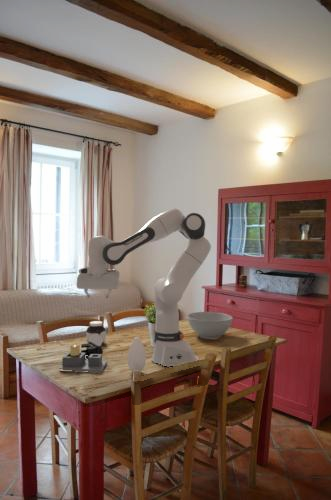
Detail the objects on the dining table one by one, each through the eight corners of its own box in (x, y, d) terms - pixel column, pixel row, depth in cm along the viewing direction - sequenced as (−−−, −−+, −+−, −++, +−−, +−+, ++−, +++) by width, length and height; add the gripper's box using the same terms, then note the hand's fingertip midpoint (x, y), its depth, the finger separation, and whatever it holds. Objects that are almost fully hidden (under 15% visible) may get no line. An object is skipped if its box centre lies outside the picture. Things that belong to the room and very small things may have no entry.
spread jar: (99, 340, 217) (99, 319, 216) (111, 344, 209) (111, 323, 208) (80, 344, 208) (81, 323, 208) (92, 349, 200) (93, 326, 200)
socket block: (106, 363, 178) (107, 352, 178) (101, 373, 166) (101, 360, 166) (68, 362, 179) (68, 350, 179) (59, 371, 167) (59, 358, 167)
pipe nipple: (80, 362, 175) (80, 345, 174) (77, 365, 171) (78, 347, 170) (71, 362, 175) (72, 344, 175) (68, 365, 171) (69, 347, 171)
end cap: (102, 359, 184) (103, 345, 184) (88, 362, 180) (89, 347, 180) (94, 354, 193) (94, 340, 192) (80, 356, 189) (80, 342, 189)
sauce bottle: (145, 369, 171) (146, 329, 171) (145, 376, 164) (146, 334, 163) (127, 369, 171) (128, 329, 170) (126, 376, 163) (127, 333, 163)
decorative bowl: (179, 333, 237) (179, 313, 236) (216, 329, 248) (216, 310, 248) (201, 344, 212) (201, 322, 212) (241, 340, 224) (242, 319, 223)
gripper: (120, 268, 190) (120, 296, 191) (78, 268, 191) (79, 296, 191) (118, 270, 184) (118, 299, 184) (75, 270, 185) (75, 298, 185)
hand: (98, 297), depth 188 cm, fingers open, 8 cm apart
